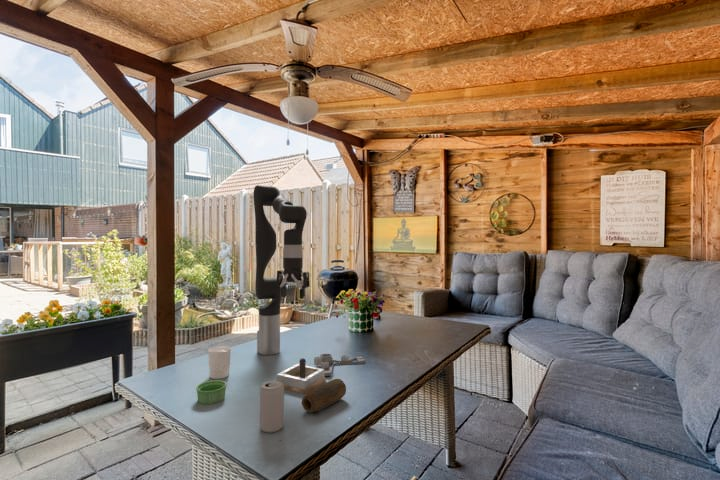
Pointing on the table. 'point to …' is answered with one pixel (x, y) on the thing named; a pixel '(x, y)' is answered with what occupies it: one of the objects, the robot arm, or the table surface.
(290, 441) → the table surface
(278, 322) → the robot arm
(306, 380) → the link
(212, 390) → the ramekin
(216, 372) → the white cup
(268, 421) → the beverage can
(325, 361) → the pulley system
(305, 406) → the brown cylinder
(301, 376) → the wooden board with peg
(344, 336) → the table surface
